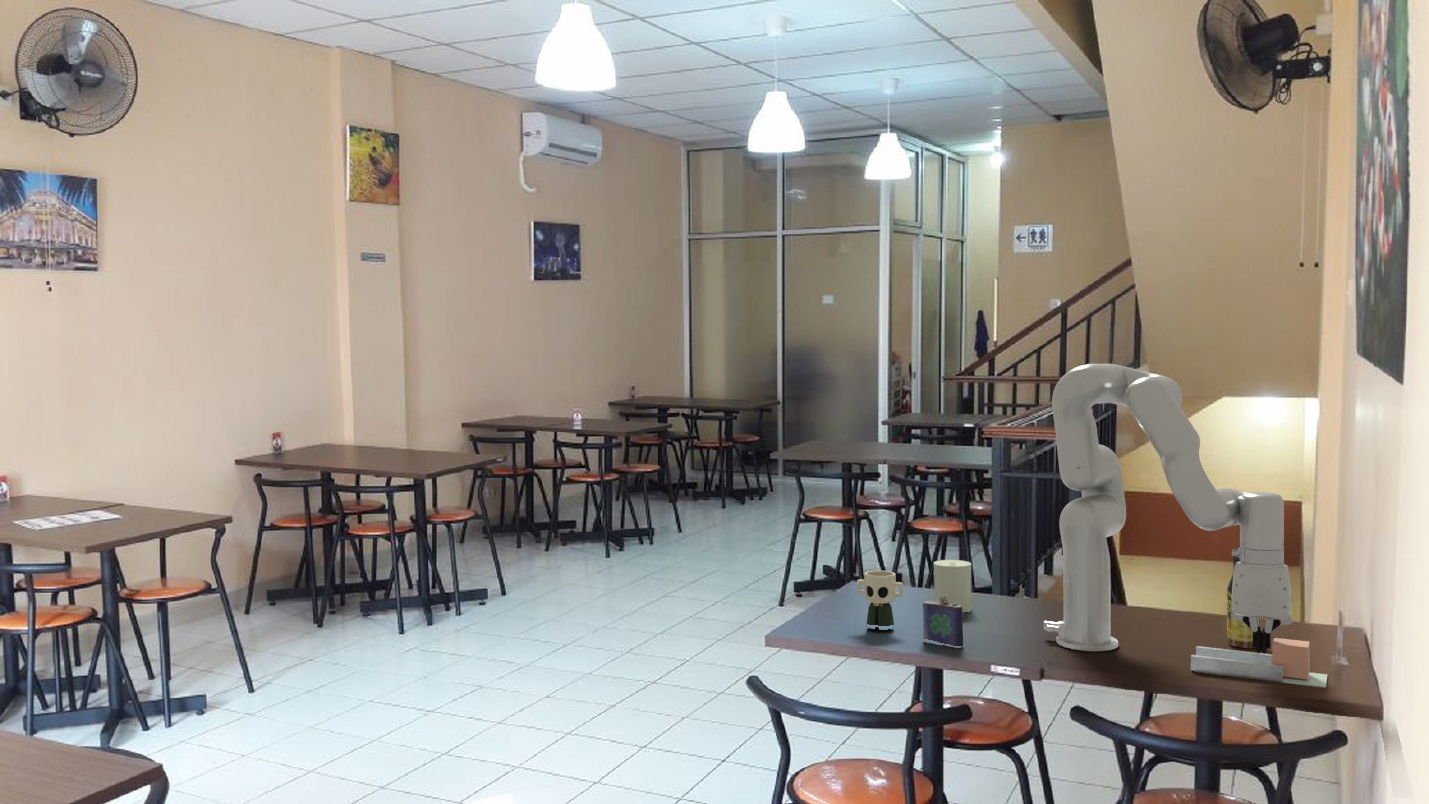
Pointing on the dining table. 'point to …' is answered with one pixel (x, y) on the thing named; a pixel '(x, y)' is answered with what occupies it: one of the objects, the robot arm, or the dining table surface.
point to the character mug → (880, 596)
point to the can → (953, 582)
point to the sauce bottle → (1237, 622)
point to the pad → (1309, 680)
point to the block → (1292, 657)
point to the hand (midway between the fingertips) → (1261, 651)
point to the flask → (943, 622)
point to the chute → (1236, 664)
